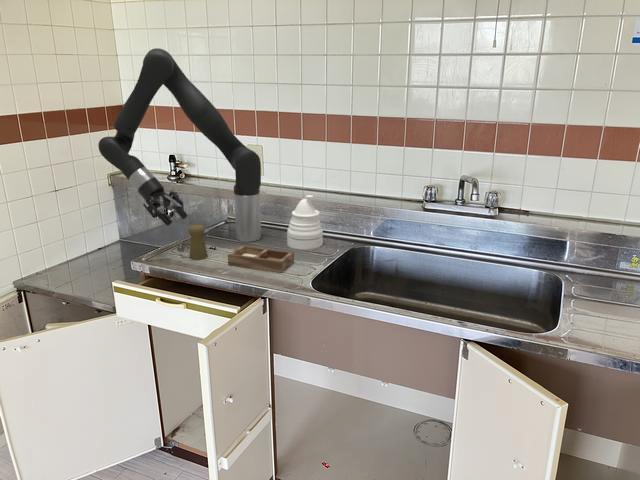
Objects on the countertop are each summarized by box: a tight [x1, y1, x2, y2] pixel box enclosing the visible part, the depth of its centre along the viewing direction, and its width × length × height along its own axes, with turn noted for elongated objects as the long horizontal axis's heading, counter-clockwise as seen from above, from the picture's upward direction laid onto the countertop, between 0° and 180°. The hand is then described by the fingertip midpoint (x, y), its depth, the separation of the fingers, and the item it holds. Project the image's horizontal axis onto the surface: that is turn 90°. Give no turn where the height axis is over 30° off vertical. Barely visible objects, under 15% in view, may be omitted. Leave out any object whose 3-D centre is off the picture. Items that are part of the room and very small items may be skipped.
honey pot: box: [286, 194, 324, 251], centre depth 183 cm, size 13×13×18 cm
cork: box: [188, 224, 209, 261], centre depth 170 cm, size 6×6×11 cm
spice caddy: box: [227, 244, 295, 274], centre depth 165 cm, size 10×19×4 cm, turn 70°
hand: (178, 220), depth 170 cm, fingers open, 8 cm apart
